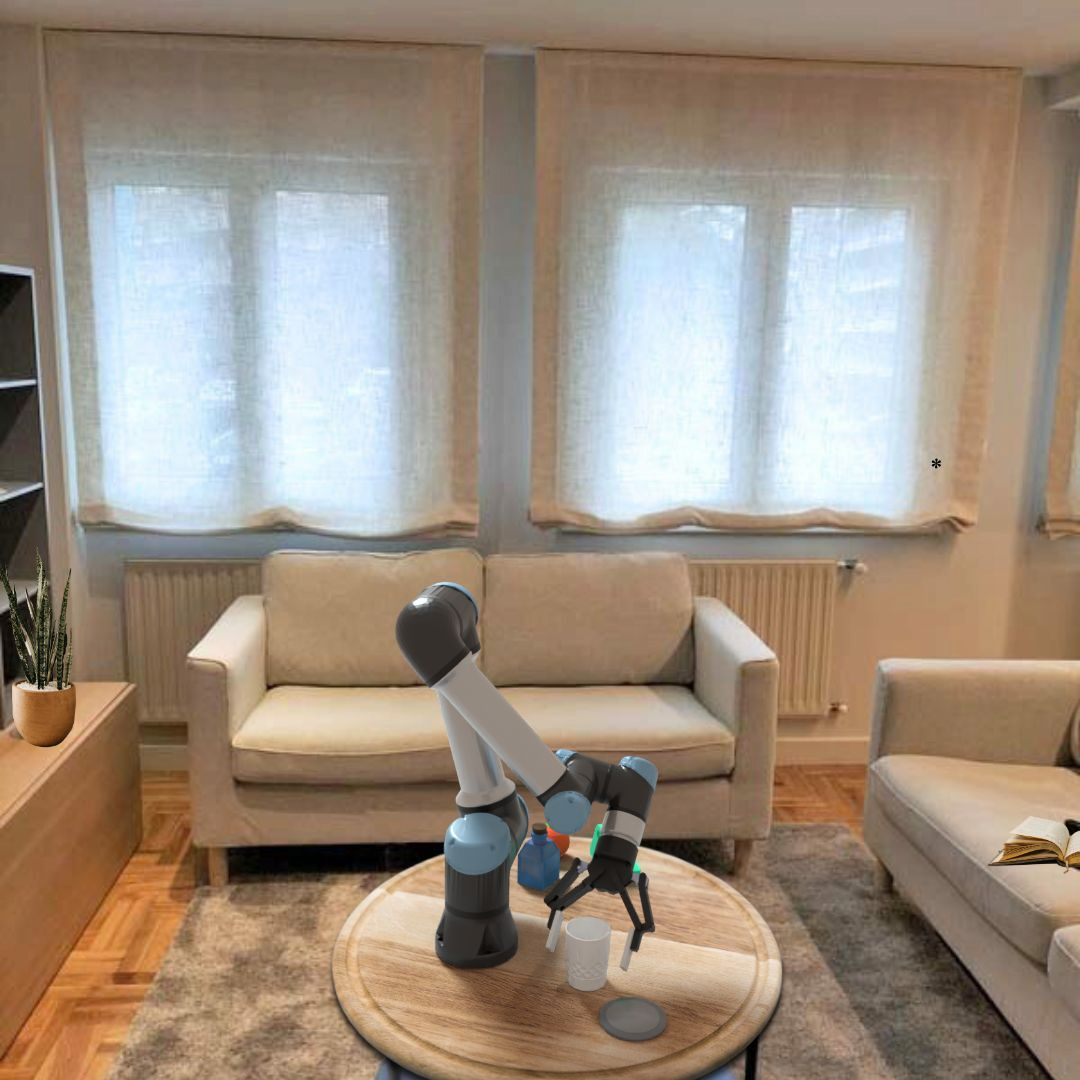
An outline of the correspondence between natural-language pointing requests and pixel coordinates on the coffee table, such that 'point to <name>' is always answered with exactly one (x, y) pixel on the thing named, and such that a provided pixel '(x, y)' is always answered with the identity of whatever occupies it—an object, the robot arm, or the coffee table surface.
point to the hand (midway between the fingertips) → (585, 959)
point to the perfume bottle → (538, 860)
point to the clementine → (559, 840)
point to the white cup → (587, 952)
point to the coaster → (632, 1018)
